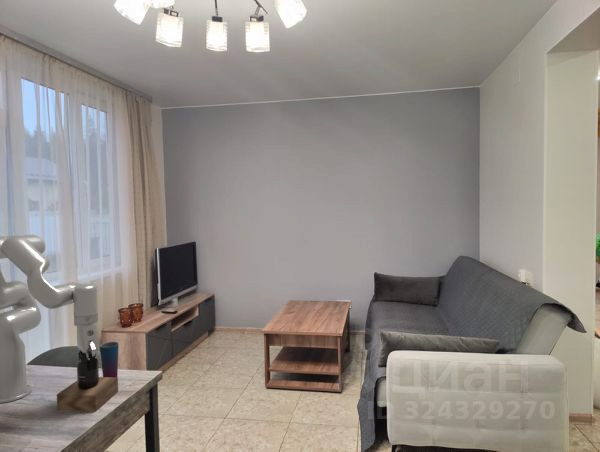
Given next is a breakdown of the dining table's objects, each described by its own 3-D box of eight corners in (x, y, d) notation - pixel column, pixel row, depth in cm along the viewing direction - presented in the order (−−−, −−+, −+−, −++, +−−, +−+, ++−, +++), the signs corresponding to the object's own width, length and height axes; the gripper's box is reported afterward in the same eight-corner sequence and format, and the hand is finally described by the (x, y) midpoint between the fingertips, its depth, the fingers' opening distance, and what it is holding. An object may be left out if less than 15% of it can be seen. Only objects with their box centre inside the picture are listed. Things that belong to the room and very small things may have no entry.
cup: (112, 385, 151) (110, 347, 151) (97, 383, 153) (95, 346, 152) (123, 377, 158) (122, 341, 157) (108, 376, 159) (107, 340, 159)
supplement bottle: (76, 391, 135) (74, 357, 134) (79, 383, 141) (77, 351, 141) (98, 387, 138) (96, 354, 137) (99, 379, 144) (98, 348, 143)
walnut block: (57, 411, 133) (56, 394, 133) (83, 392, 147) (82, 376, 147) (96, 412, 132) (95, 395, 132) (118, 393, 146) (117, 377, 146)
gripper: (105, 321, 134) (106, 369, 135) (90, 312, 147) (91, 356, 148) (81, 326, 129) (83, 376, 130) (68, 316, 142) (69, 362, 142)
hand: (87, 365), depth 139 cm, fingers open, 9 cm apart
